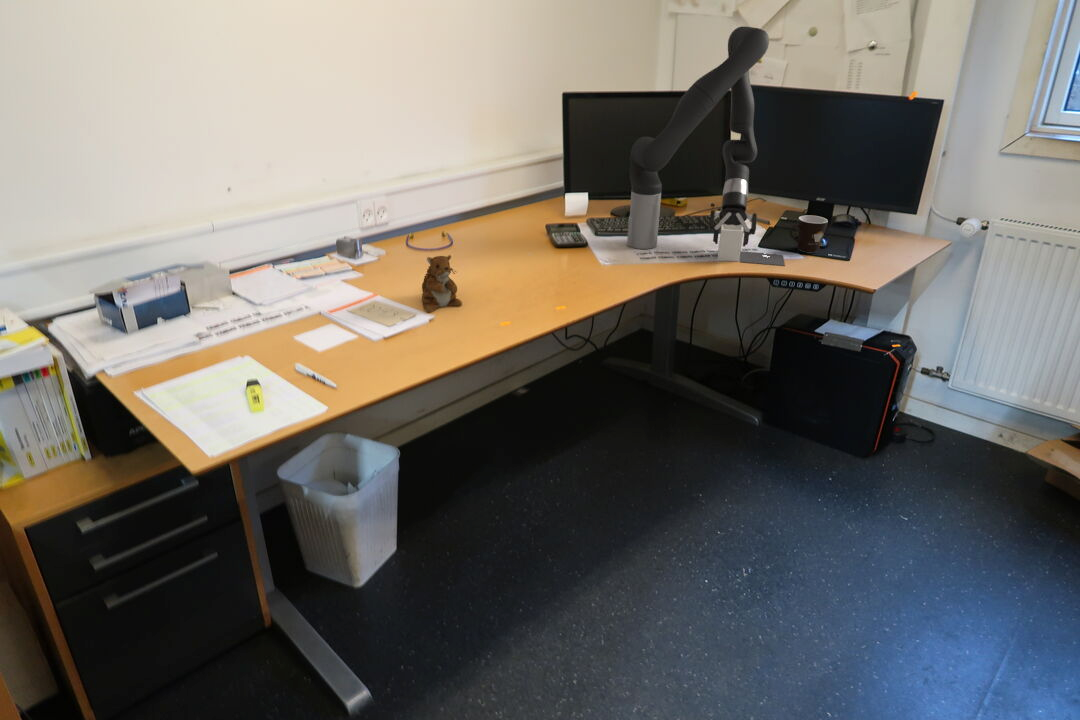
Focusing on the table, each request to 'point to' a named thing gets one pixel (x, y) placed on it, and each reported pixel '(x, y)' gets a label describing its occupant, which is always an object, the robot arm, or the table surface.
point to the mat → (761, 258)
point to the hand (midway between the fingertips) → (730, 244)
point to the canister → (730, 242)
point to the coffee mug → (810, 232)
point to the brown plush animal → (439, 285)
